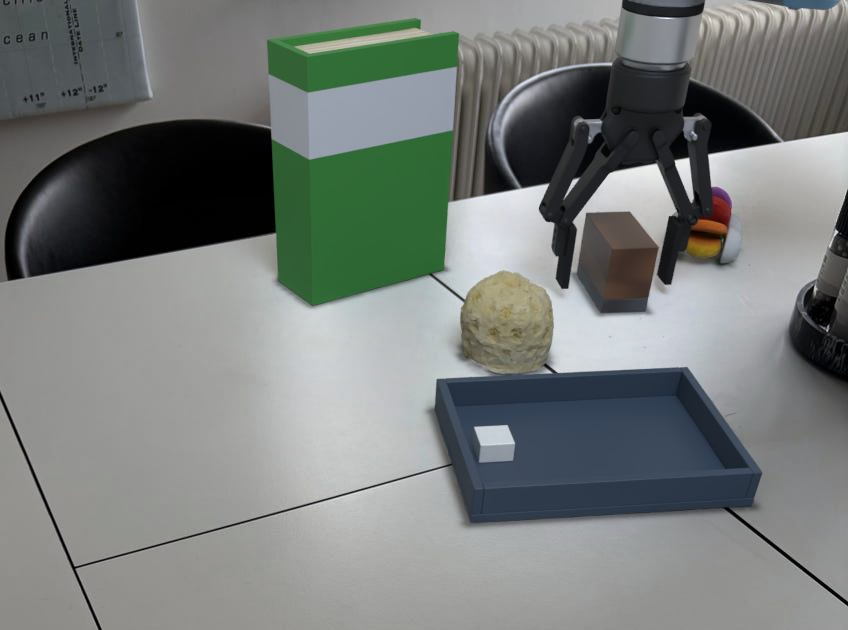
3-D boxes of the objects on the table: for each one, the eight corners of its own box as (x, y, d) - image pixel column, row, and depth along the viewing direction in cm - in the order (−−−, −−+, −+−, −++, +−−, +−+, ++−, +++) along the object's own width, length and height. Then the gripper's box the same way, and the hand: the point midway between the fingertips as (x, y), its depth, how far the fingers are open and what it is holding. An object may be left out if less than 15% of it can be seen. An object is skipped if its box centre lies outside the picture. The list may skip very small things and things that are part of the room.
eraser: (618, 272, 119) (629, 211, 115) (646, 311, 112) (659, 247, 107) (576, 274, 119) (585, 212, 114) (600, 313, 112) (612, 248, 107)
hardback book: (406, 247, 124) (415, 17, 107) (444, 269, 119) (459, 33, 103) (278, 281, 116) (266, 39, 100) (312, 305, 112) (306, 57, 96)
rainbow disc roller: (660, 263, 121) (673, 199, 117) (667, 232, 128) (680, 171, 123) (734, 273, 120) (751, 209, 115) (738, 241, 127) (754, 179, 122)
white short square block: (505, 442, 91) (507, 424, 90) (513, 461, 89) (515, 443, 87) (471, 444, 90) (473, 426, 89) (478, 463, 88) (480, 445, 87)
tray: (679, 398, 98) (687, 366, 96) (752, 506, 86) (763, 472, 83) (434, 410, 96) (436, 378, 94) (470, 523, 83) (474, 489, 81)
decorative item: (547, 396, 106) (583, 300, 104) (516, 374, 97) (555, 269, 95) (465, 372, 110) (499, 278, 108) (429, 348, 101) (465, 246, 99)
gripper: (754, 47, 103) (702, 263, 118) (524, 51, 101) (502, 271, 116) (785, 68, 98) (727, 292, 113) (543, 72, 96) (517, 300, 111)
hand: (613, 281), depth 114 cm, fingers open, 11 cm apart
